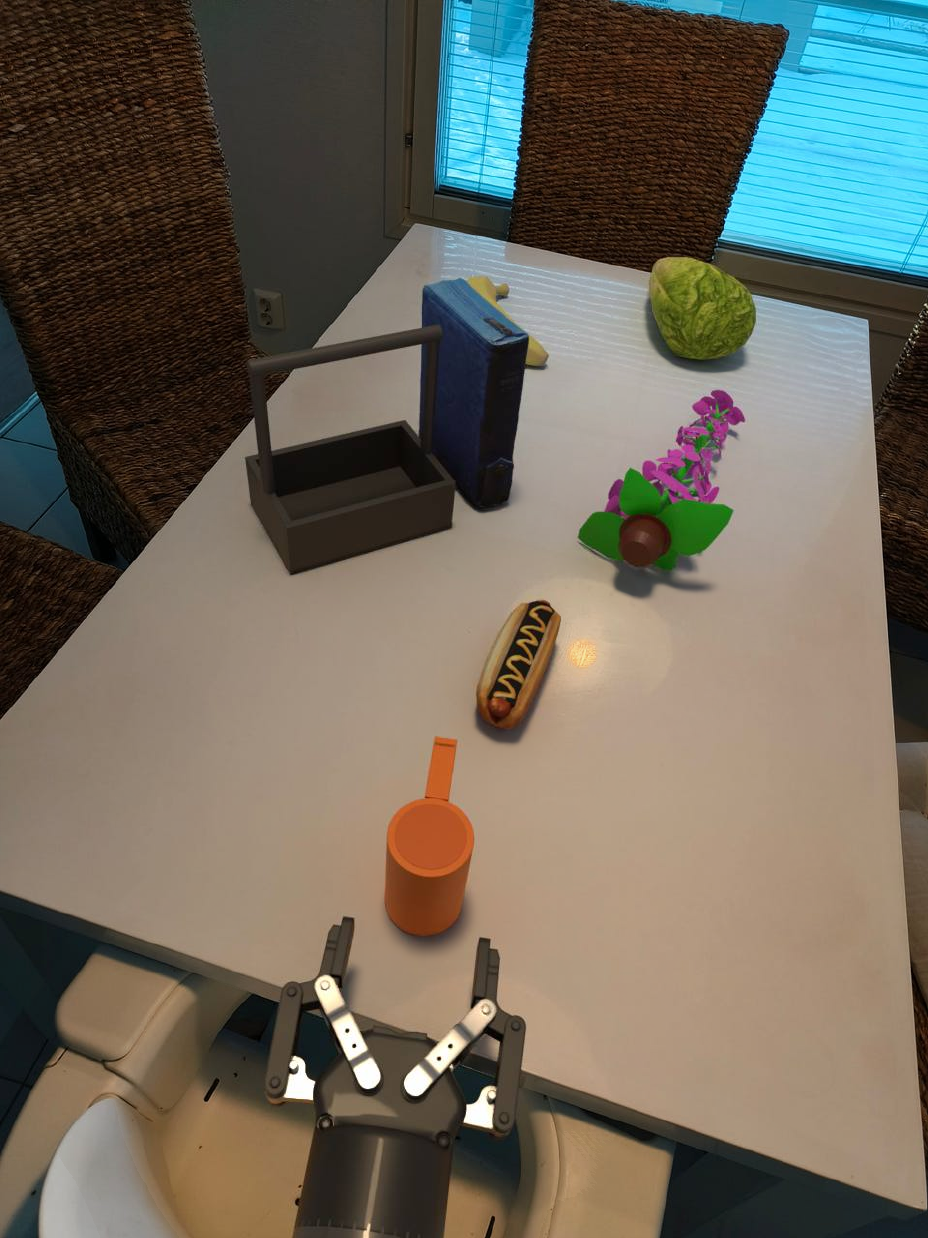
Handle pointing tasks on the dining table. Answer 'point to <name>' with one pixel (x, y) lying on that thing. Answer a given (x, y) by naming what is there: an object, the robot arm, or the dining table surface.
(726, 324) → the lettuce
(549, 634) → the hot dog
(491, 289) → the banana
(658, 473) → the potted plant
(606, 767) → the dining table surface
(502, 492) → the book
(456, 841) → the measuring cup
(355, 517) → the basket
